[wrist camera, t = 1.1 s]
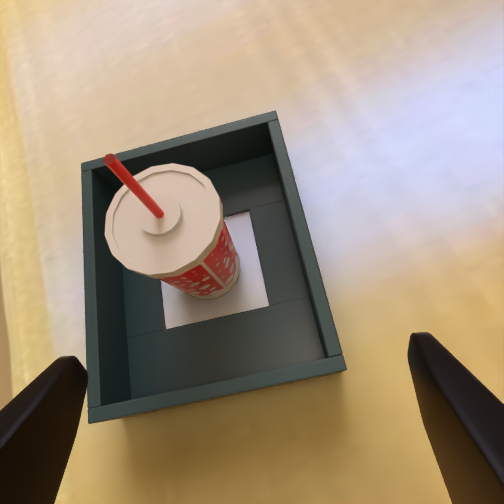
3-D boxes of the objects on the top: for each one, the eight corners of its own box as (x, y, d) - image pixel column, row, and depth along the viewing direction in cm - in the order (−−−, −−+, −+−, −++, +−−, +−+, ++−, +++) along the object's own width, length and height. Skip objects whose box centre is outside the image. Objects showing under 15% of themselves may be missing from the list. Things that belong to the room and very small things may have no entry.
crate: (342, 372, 23) (347, 370, 19) (122, 418, 24) (87, 424, 20) (280, 144, 29) (275, 109, 26) (109, 189, 31) (80, 162, 27)
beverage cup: (218, 214, 28) (134, 68, 15) (268, 272, 26) (220, 160, 13) (153, 264, 28) (9, 157, 15) (199, 328, 25) (78, 269, 12)
